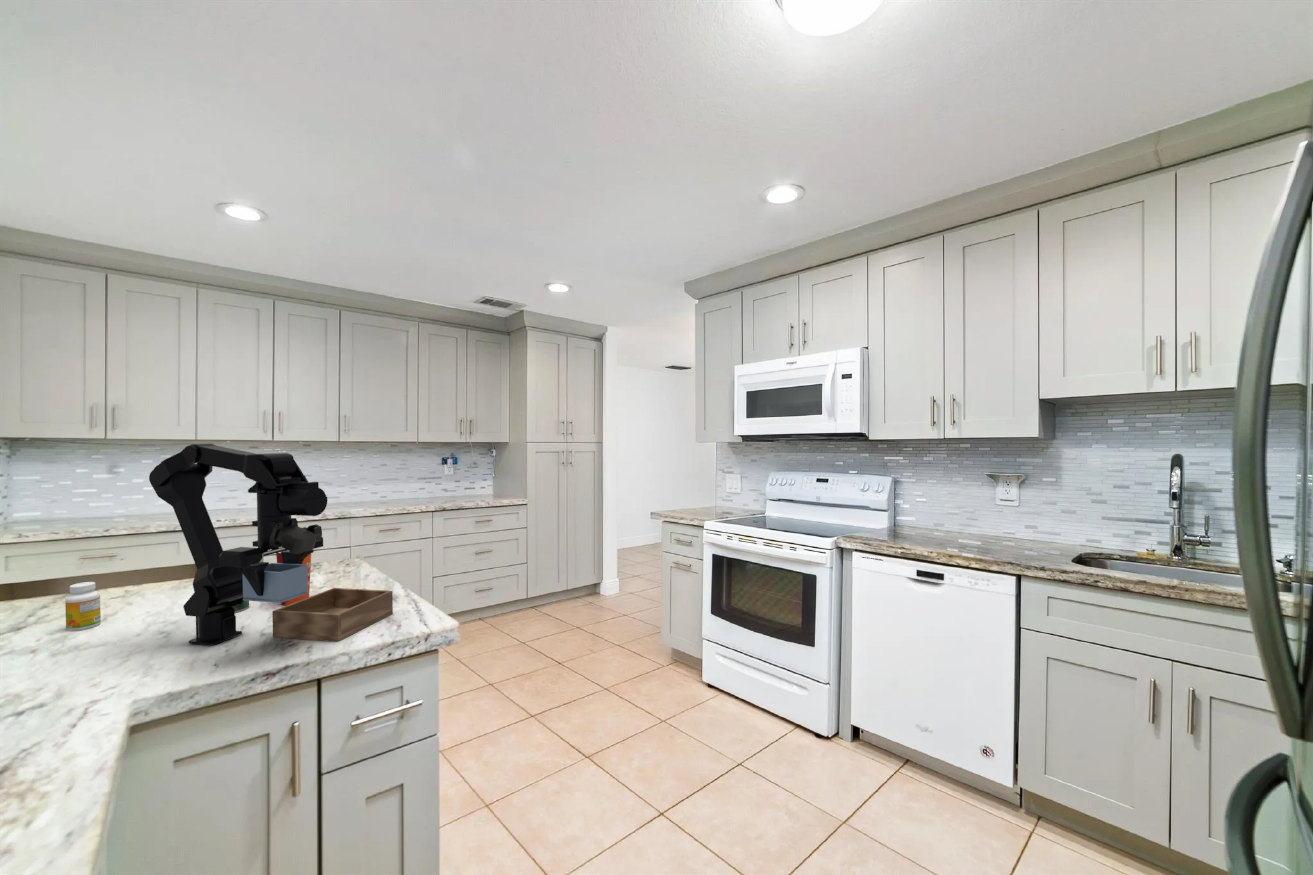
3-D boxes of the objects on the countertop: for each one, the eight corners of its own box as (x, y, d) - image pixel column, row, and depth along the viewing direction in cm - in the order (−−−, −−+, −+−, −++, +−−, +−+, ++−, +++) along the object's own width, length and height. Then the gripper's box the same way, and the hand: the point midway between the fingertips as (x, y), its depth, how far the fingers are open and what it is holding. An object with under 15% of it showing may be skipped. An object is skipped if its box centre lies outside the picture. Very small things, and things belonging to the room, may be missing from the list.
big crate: (272, 636, 115) (272, 611, 114) (334, 610, 131) (333, 587, 131) (338, 641, 112) (338, 615, 112) (392, 613, 128) (392, 590, 128)
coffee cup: (299, 607, 134) (298, 547, 133) (267, 607, 134) (266, 547, 134) (321, 596, 142) (320, 540, 142) (290, 596, 142) (289, 540, 142)
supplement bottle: (61, 629, 120) (60, 585, 120) (95, 621, 125) (94, 579, 125) (71, 633, 118) (69, 589, 117) (104, 625, 122) (103, 582, 122)
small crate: (243, 600, 108) (242, 570, 108) (272, 590, 114) (272, 562, 114) (279, 603, 106) (279, 572, 106) (307, 593, 112) (307, 564, 112)
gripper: (263, 523, 99) (265, 608, 99) (343, 509, 117) (345, 580, 117) (215, 522, 101) (217, 604, 102) (301, 507, 120) (302, 577, 120)
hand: (276, 590), depth 110 cm, fingers closed on small crate, 6 cm apart
